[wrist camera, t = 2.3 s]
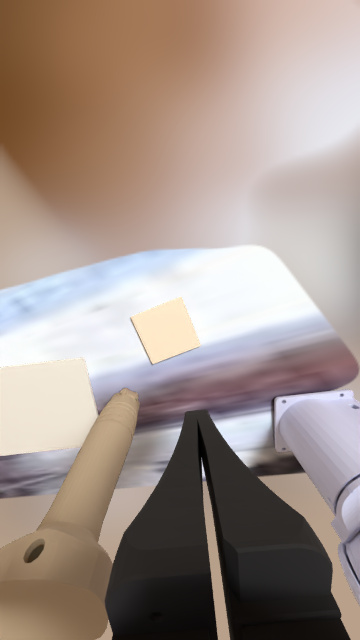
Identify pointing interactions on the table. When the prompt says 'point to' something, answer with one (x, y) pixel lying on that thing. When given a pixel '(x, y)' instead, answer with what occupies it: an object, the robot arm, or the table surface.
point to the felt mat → (45, 406)
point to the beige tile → (166, 330)
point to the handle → (69, 542)
